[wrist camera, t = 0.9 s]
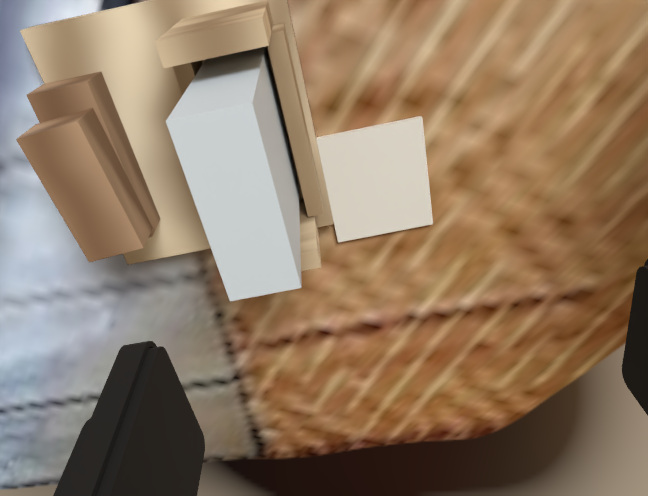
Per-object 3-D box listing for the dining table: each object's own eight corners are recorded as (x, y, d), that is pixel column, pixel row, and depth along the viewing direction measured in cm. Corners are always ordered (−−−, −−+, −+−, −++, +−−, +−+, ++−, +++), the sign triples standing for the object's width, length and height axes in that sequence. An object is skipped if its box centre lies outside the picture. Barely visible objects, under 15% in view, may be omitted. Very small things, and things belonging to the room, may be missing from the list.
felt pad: (420, 115, 35) (422, 117, 35) (431, 221, 39) (432, 224, 39) (316, 137, 35) (316, 139, 35) (337, 239, 40) (338, 242, 39)
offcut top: (92, 107, 30) (77, 121, 28) (152, 227, 34) (143, 247, 32) (35, 124, 30) (16, 139, 28) (101, 241, 34) (89, 262, 32)
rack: (281, -30, 30) (277, -17, 23) (332, 216, 38) (341, 280, 31) (28, 27, 31) (-48, 56, 24) (132, 255, 39) (97, 327, 32)
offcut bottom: (101, 71, 31) (87, 81, 29) (160, 218, 37) (152, 236, 34) (44, 83, 32) (26, 95, 29) (111, 228, 37) (100, 247, 35)
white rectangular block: (265, 45, 31) (252, 103, 21) (298, 184, 36) (301, 287, 25) (207, 57, 31) (165, 121, 21) (247, 194, 36) (230, 301, 26)
